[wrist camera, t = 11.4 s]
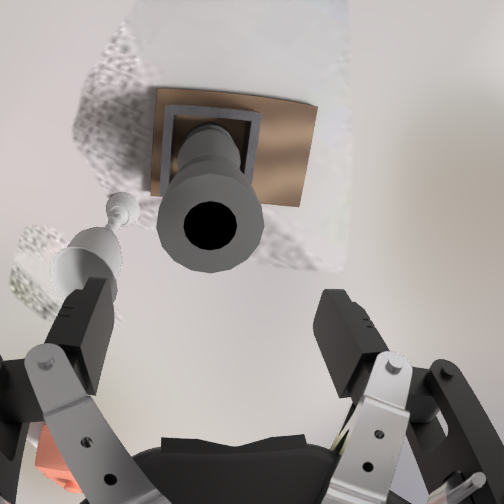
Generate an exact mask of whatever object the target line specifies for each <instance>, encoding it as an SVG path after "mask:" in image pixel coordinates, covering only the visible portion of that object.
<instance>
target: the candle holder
mask: <svg viewBox="0 0 504 504" xmlns="http://www.w3.org/2000/svg"><path fill="white" fill-rule="evenodd" d="M240 164H241V161H240V155H239V150H238V148H237V147H236V145H235V143H234V139H233V137H232V136H231V134H230V133H229V131H228V130H227V128H225V127H224V126H222V125H221V124H219V123H214V122H204V123H199V124H198V125H196V126H195V127H193V128H192V129H191V130H190V131H189V133H188V134H187V136H186V137H185V139H184V142H183V146H182V147H181V149H180V151H179V155H178V161H177V165H178V169H179V171H178V173H177V174H176V175H175V177H174V178H173V180H172V181H171V183H170V184H169V186H168V187H167V189H166V191H165V194H164V196H163V199H162V202H161V204H160V207H159V212H158V219H157V227H156V228H157V231H158V235H159V238H160V241H161V245H162V247H163V248H164V249H165V250H166V252H167V253H168V254H169V255H170V256H171V258H172V259H173V260H174V261H175V262H177V263H179V264H181V265H183V266H185V267H186V268H188V269H190V270H193V271H200V272H207V273H215V272H219V271H225V270H230V269H232V268H234V267H235V266H237V265H239V264H240V263H242V262H244V261H245V260H247V259H248V258H249V257H250V255H251V254H252V253H253V251H254V250H255V249H256V248H257V246H258V245H259V243H260V239H261V236H262V232H263V229H264V220H263V214H262V207H261V204H260V202H259V200H258V198H257V196H256V193H255V191H254V189H253V187H252V186H251V184H250V183H249V181H248V179H247V178H246V176H245V175H244V174H243V173H242V172H241V171H240V169H239V168H240Z"/></svg>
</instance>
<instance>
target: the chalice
mask: <svg viewBox="0 0 504 504" xmlns="http://www.w3.org/2000/svg"><path fill="white" fill-rule="evenodd" d="M106 212H107V216H108V219H109V221H108V224H107V225H106V226H105V228H104V227H93V228H90V229H86V230H83V231H81V232H79V233H78V234H77V235H76V236H75V237H74V239H73V240H72V241H71V242H70V244H69V245H68V247H67V248H64V249H62V250H60V251H59V252H58V253H56V254H55V255H54V257H53V259H52V261H51V265H50V276H51V280H52V283H53V285H54V287H55V289H56V291H57V293H58V294H59V295H60V296H61V297H62V298H63V300H64V301H65V299H66V297H67V296H68V295H69V294H71V293H72V292H73V291H74V290H75V289H81V290H83V288H84V286H85V284H86V282H87V280H88V278H89V277H101V278H109V279H110V283H111V292H112V300H113V302H114V301H115V299H116V295H117V284H116V281H117V278H118V276H119V273H120V270H121V267H122V262H123V261H122V252H121V247H120V244H119V241H118V239H117V237H116V233H117V230H118V229H120V227H125V226H130V225H132V224H134V223H135V222H136V221H137V219H138V218H139V215H140V206H139V203H138V201H137V200H136V199H135V198H134V197H133V196H132V195H130V194H128V193H121V192H120V193H116V194H114V195H113V196H111V197H110V199H109V200H108V202H107V205H106Z"/></svg>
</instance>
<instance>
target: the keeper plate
mask: <svg viewBox="0 0 504 504" xmlns="http://www.w3.org/2000/svg"><path fill="white" fill-rule="evenodd" d="M170 103H178V104H194V105H208V106H219V107H230V108H239V109H248V110H256V111H258V112H260V113H262V118H261V125H260V132H259V139H258V145H257V152H256V159H255V166H254V173H253V180H252V187H253V189H254V191H255V193H256V196H257V198H258V200H259V202H260V204H271V205H282V206H292V207H299V206H300V201H301V195H302V190H303V185H304V180H305V175H306V170H307V164H308V159H309V154H310V148H311V143H312V137H313V132H314V126H315V120H316V115H317V109H318V107H317V106H312V105H307V104H302V103H296V102H290V101H284V100H278V99H271V98H264V97H257V96H250V95H241V94H232V93H223V92H212V91H199V90H183V89H160V88H158V89H157V99H156V110H155V122H154V135H153V150H152V169H151V196H160V174H161V157H162V142H163V129H164V117H165V106H166V105H167V104H170ZM204 122H214V123H219V124H221V125H222V126H224V127H225V128H227V130H228V131H229V133H230V134H231V136H232V137H233V139H234V143H235V145H236V147H237V148H238V150H239V155H240V161H241V154H242V146H243V139H244V132H245V124H246V120H238V119H228V118H217V117H205V116H191V115H178V116H177V127H176V138H175V150H174V164H173V177H175V175H176V174H177V173H178V171H179V169H178V165H177V161H178V155H179V151H180V149H181V147H182V146H183V142H184V139H185V137H186V136H187V134H188V133H189V131H190V130H191V129H192V128H193V127H195V126H196V125H198V124H199V123H204ZM239 169H240V168H239ZM160 197H163V196H160Z"/></svg>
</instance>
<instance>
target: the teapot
mask: <svg viewBox="0 0 504 504" xmlns="http://www.w3.org/2000/svg"><path fill="white" fill-rule="evenodd" d="M35 466H36V467H37V468H38V469H39V470H40V471H41V472H43V474H44V475H45V476H46V477H48V478H50V479H52V480H53V481H54V482H56V483H57V484H59V485H60V486H61V487H63V488H64V489H66V490H67V491H69V492H72V493H83V492H82V490H81V489H80V487H79V485H78V484H77V482H76V480H75V479H74V477H73V475H72V473H71V472H70V470H69V468H68V466H67V464H66V463H65V461H64V459H63V457H62V455H61V453H60V451H59V449H58V447H57V445H56V443H55V441H54V439H53V437H52V435H51V433H50V431H49V429H48V427H47V425H46V424H44V426H43V428H42V430H41V434H40V438H39V442H38V447H37V453H36V460H35Z"/></svg>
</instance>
